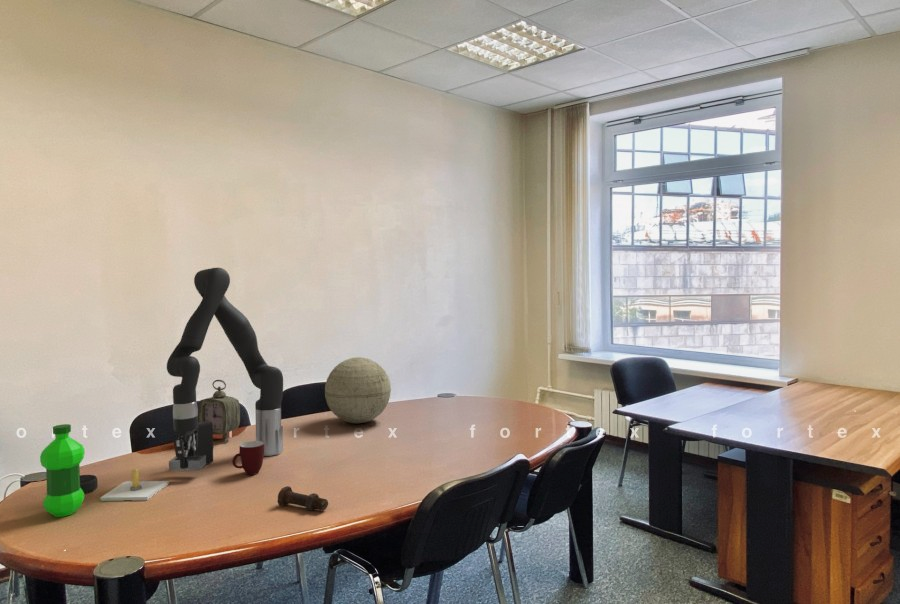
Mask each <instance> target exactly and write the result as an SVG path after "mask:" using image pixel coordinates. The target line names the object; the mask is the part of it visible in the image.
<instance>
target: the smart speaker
mask: <svg viewBox="0 0 900 604" xmlns="http://www.w3.org/2000/svg"><path fill="white" fill-rule="evenodd" d="M98 481H99V480H98V477H97V476H96V475H93V474H80V488H81V489H82V490H83V492H84V495H85V494H88V493H91V492H93V491H95V490H96V489H97V488H98V485H99V484H98V483H99V482H98Z"/></svg>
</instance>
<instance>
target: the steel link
mask: <svg viewBox="0 0 900 604" xmlns="http://www.w3.org/2000/svg"><path fill="white" fill-rule="evenodd" d="M187 462H188V467H187V468H186V469H181V468H180V458H179V457H176V455H175V456H174V457H173V458H171V459H170V460H168V471H169V472H170V471H197V470H199V471H200V470H201V469H203V467H204V466H206V465H207V464H206V455H199V456H187Z"/></svg>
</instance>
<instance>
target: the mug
mask: <svg viewBox="0 0 900 604" xmlns="http://www.w3.org/2000/svg"><path fill="white" fill-rule="evenodd" d="M238 451H239V453H236V454H235V455H234V456H233V458H232V460H231V461H232V465H233V467H234V468H236V469H243V471H244V473H246V475H248V476H254V475H257V474H259V472H260V471H261V469H262V467H263V463H264V458H265V456H264V442H262V441H256V440H250V441H245V442H242V443H240V444H239V450H238ZM238 458H240V461H241V465H237V459H238Z"/></svg>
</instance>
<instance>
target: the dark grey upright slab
mask: <svg viewBox="0 0 900 604" xmlns="http://www.w3.org/2000/svg"><path fill="white" fill-rule="evenodd" d="M195 430H198V447H196V450H195V456H199V455H206V465H207V463H208V464H212V463H213V462H214V434H213V423H212V422H211V421H204V422H199V421H198V428H197V429H195ZM187 456H188V455H187Z"/></svg>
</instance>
